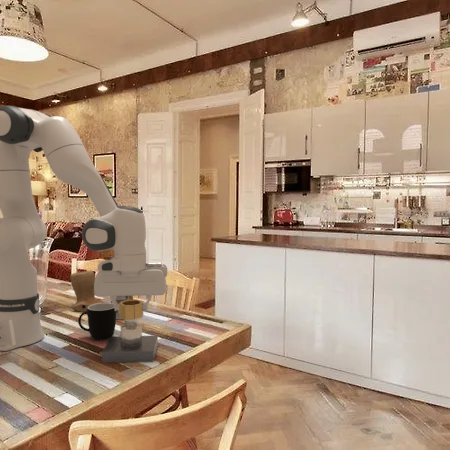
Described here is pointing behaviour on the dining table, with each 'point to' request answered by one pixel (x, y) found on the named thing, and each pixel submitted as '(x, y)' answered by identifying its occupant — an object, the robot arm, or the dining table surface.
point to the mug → (100, 320)
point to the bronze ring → (130, 309)
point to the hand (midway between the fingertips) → (131, 310)
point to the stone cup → (84, 290)
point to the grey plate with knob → (130, 345)
